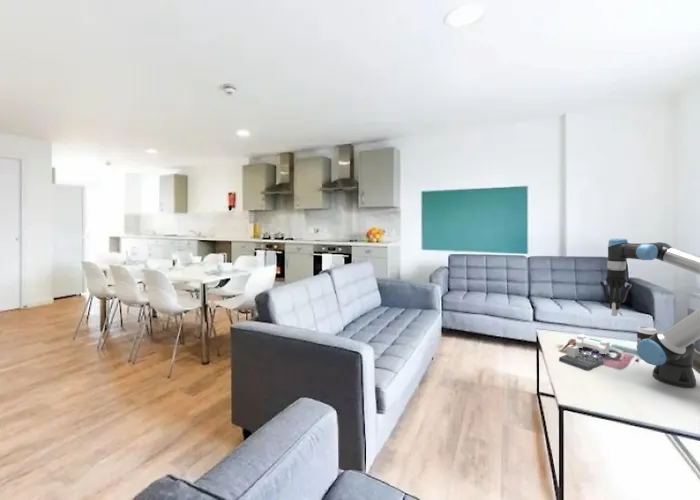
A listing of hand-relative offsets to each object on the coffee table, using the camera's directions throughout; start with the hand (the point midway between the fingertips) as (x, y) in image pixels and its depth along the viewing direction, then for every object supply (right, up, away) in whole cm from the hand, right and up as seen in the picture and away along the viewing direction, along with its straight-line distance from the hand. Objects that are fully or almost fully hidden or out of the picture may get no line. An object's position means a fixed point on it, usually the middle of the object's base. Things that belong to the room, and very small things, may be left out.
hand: (614, 315), depth 177 cm
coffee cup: (+32, -26, +19) cm, 45 cm away
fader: (-13, -24, +12) cm, 30 cm away
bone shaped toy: (+6, -25, +24) cm, 36 cm away
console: (-11, -27, +9) cm, 30 cm away
